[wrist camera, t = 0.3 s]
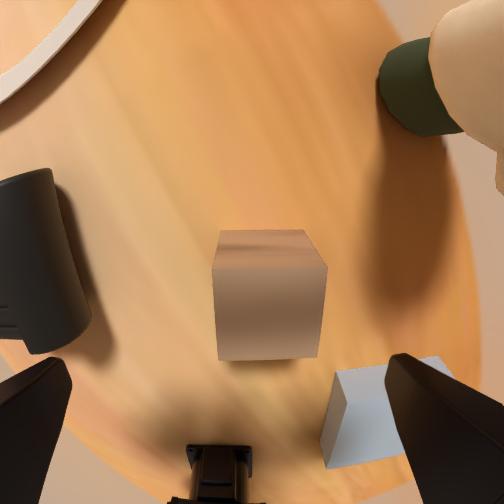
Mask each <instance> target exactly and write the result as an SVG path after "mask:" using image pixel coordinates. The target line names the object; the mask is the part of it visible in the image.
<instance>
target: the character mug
mask: <svg viewBox="0 0 504 504" xmlns="http://www.w3.org/2000/svg"><path fill="white" fill-rule="evenodd" d="M379 84H380V93H381V95H382V97H383V99H384V101H385V103H386V106H387V108H388V110H389V112H390V113H391V114H392V115H393V116H394V117H395V118H396V119H397V120H398V121H399V122H400V123H401V124H402V125H403V126H404V127H405V128H406V129H408V130H410V131H412V132H414V133H416V134H419V135H421V136H423V137H426V136H435V135H445V134H456V133H461V132H465V133H466V134H467V135H468V136H470V137H472V138H473V139H475V140H477V141H479V142H480V143H482V144H484V145H486V146H488V147H489V148H491V149H492V150H494V151H497V165H496V177H495V179H496V188H497V189H498V191H499V192H501V194H503V195H504V0H471V1H470V2H467V3H465V4H463V5H461V6H459V7H457V8H454V9H452V10H450V11H448V12H447V13H446V14H445V15H444V16H443V17H442V19H441V20H440V21H439V23H438V24H437V26H436V27H435V28H434V30H433V31H432V32H431V37H428V38H423V39H418V40H414V41H411V42H407V43H404V44H402V45H400V46H398V47H397V48H395V49H393V50H391V51H390V52H388V53H387V55H386V57H385V59H384V61H383V63H382V65H381V67H380V69H379Z"/></svg>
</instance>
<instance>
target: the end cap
mask: <svg viewBox="0 0 504 504" xmlns="http://www.w3.org/2000/svg"><path fill="white" fill-rule="evenodd" d="M90 321H91V311H90V308H89V305H88V303H87V300H86V297H85V294H84V291H83V289H82V286H81V283H80V280H79V277H78V273H77V270H76V267H75V264H74V261H73V257H72V254H71V250H70V247H69V243H68V240H67V236H66V232H65V228H64V224H63V220H62V216H61V212H60V208H59V203H58V199H57V194H56V189H55V184H54V179H53V173H52V170H51V169H50V168H43V169H38V170H34V171H30V172H26V173H23V174H20V175H16V176H13V177H10V178H7V179H4V180H2V181H0V339H15V340H23V341H24V343H25V345H26V347H27V349H28V351H29V353H30V354H32V355H33V354H43V353H48V352H51V351H54V350H57V349H59V348H61V347H63V346H65V345H67V344H69V343H70V342H72V341H73V340H75V339H76V338H77V337H79V336H80V335H81V334H82V333H83V332H84V331H85V330H86V328H87V327H88V325H89V323H90Z"/></svg>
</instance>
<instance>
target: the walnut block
mask: <svg viewBox="0 0 504 504" xmlns="http://www.w3.org/2000/svg"><path fill="white" fill-rule="evenodd" d="M327 270H328V267H327V265H326V264H325V262H324V261H323V259H322V257H321V256H320V254H319V253H318V251H317V250H316V248H315V247H314V245H313V244H312V242H311V240H310V239H309V237H308V236H307V234H306V233H305V231H304V230H221V233H220V237H219V241H218V246H217V250H216V254H215V258H214V263H213V267H212V278H213V295H214V310H215V324H216V337H217V350H218V360H221V361H234V360H278V359H299V358H314V357H317V355H318V348H319V340H320V333H321V325H322V317H323V308H324V299H325V290H326V280H327Z"/></svg>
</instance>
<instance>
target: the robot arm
mask: <svg viewBox="0 0 504 504" xmlns="http://www.w3.org/2000/svg"><path fill="white" fill-rule="evenodd" d="M384 385H385V389H386V392H387V396H388V399H389V403H390V407H391V410H392V414H393V418H394V422H395V425H396V429H397V432H398V435H399V437H400V440H401V443H402V445H403V448H404V450H405V453H406V456H407V458H408V461H409V464H410V467H411V469H412V472H413V475H414V478H415V480H416V483H417V486H418V489H419V492H420V495H421V498H422V500H423V504H504V406H503V405H502V404H501V403H499V402H497V401H496V400H494V399H492V398H490V397H488V396H486V395H484V394H482V393H480V392H478V391H476V390H474V389H473V388H471V387H469V386H467V385H465V384H463V383H461V382H459V381H457V380H455V379H454V378H452V377H450V376H448V375H446V374H444V373H442V372H440V371H438V370H437V369H435V368H433V367H431V366H429V365H427V364H425V363H424V362H422V361H420V360H418V359H416V358H414V357H412V356H410V355H409V354H407V353H401V354H394V355H392V356H391V358H390V360H389V364H388V367H387V371H386V374H385V378H384ZM71 390H72V380H71V377H70V375H69V372H68V370H67V367H66V365H65V363H64V361H63V360H62V359H61V358H56V357H48V358H46V359H45V360H43V361H41V362H39V363H37V364H35V365H33V366H31V367H29V368H28V369H26V370H24V371H22V372H20V373H18V374H16V375H14V376H12V377H11V378H9V379H7V380H5V381H3V382H1V383H0V504H38V503H39V499H40V496H41V492H42V488H43V485H44V481H45V478H46V474H47V471H48V468H49V465H50V462H51V459H52V456H53V453H54V449H55V446H56V443H57V441H58V438H59V435H60V431H61V428H62V425H63V421H64V417H65V413H66V409H67V405H68V401H69V398H70V394H71ZM186 453H187V456H188V459H189V463H190V466H191V469H192V476H191V484H190V493H189V499H182V498H178V497H173V496H172V499H171V501H170V502H167V504H266V503H249V480H248V478H251V477H252V448H251V447H249V446H202V445H187V446H186Z"/></svg>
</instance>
